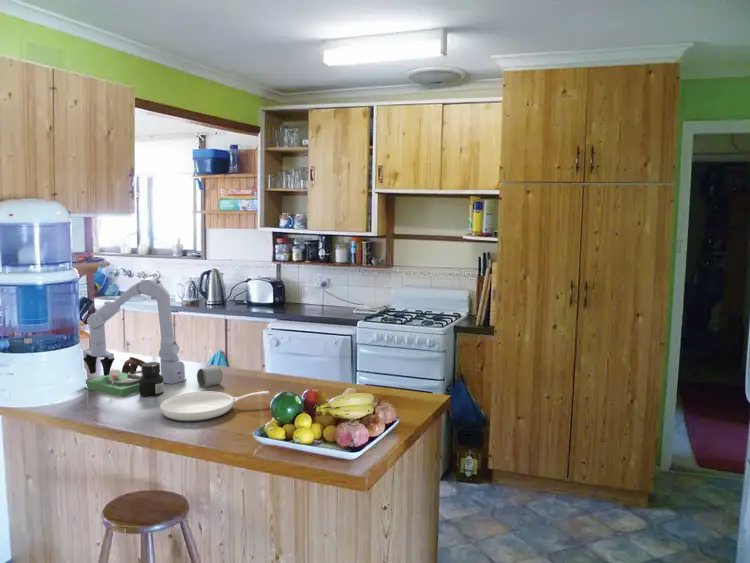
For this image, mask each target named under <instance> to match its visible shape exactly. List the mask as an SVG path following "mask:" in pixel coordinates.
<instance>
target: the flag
mask: <svg viewBox="0 0 750 563" xmlns="http://www.w3.org/2000/svg"><path fill="white" fill-rule="evenodd" d="M111 376H112V387H114V382H113V379H115V380H117V376H116V375H113V374H111Z"/></svg>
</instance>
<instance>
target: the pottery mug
mask: <svg viewBox="0 0 750 563" xmlns="http://www.w3.org/2000/svg"><path fill="white" fill-rule="evenodd" d="M144 363H147V362H146V361H144V360H142V359H140V358H136V357H133V356H130V357H129V358H128V359H127V360H126V361H124V363H123V365H122V368H121V372H122V373H127V374H133V375H136V371H137V369H138V367H140V368H141V365H142V364H144Z"/></svg>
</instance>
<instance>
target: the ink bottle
mask: <svg viewBox="0 0 750 563" xmlns="http://www.w3.org/2000/svg"><path fill="white" fill-rule="evenodd" d="M140 368H141V370H140V371H141V376H142V377H140V379H139V390H140V392H139V396H141V397H142V398H155V397H159V396H162V395H163V394H164V393H165V386H164V385H165V384H164V382H163V376H162V375H161V362H157V361H149V362H146V363H144V364H142V365H141V367H140Z"/></svg>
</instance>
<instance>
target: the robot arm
mask: <svg viewBox="0 0 750 563" xmlns="http://www.w3.org/2000/svg"><path fill="white" fill-rule="evenodd" d="M141 294H142V295H144V296H148V297H151V298H152V299H154V300H155V301H156V302H157V311H158V321H159V330H160V349H159V351H158V356H159V358H160V362H159V363H160V375H162V376H163V382H164V383H165V384H168V385H169V384H170V385H175V384H176V383H180V382H183V381H187V378H186V372H185V371H186V370H185V364H184V362H183V361H180V359H179V356H178V353H179V351H180V346H179V345H178V343H177V340H176V337H175V336H174V325H173V317H172V315H173V314H172V306H171V298H170V297H171V295H170V293H169V292H168V290H167V289H166V288H165V287H164V285H163V284H162V281H161V280H159V279H157V278H156V277H154V276H148V277H146V278H144V279H142V280H140V281H139V282H137V283H135V284H133V285H132V286H130V287H129V288H128V289H126V291H124V292H123V293H122V294H121V295H119V297H117V298H116V299H115V300H112V299H111V300H106V301H105V302H104V303H103V305H102V306H101V307H100V308H97V309H95V310H94V313H91V314H89V316H88V317H87V319H86V323H87V325H88V326H89V341H90V350H88V349H86V350H84V351H83V361H84V362H85V364H86V366H87V368H88V371H89V373H90V375H91V374H95V373H96V370H97V365H96V364H97V359H98V358H101V359H99V361H100V363H101V366H102V371H103V375H104V376H107V375H109V372H110V371H111V370H112V368H111V367H112V365H113V363H114V361H115V355H114V352H109V351H108V350H107V344H106V343H107V342H106V330H105V326H106V325H105V324H106V322H107V321H109V320H110V319H111V318H113V317H114V316H115V315H116V314H118V313H119V312H120V310H121V306H123V305H124V304H125V303H127V302H128V301H129V300H131V299H132V298H133V297H135V296H138V295H140V296H141Z"/></svg>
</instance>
